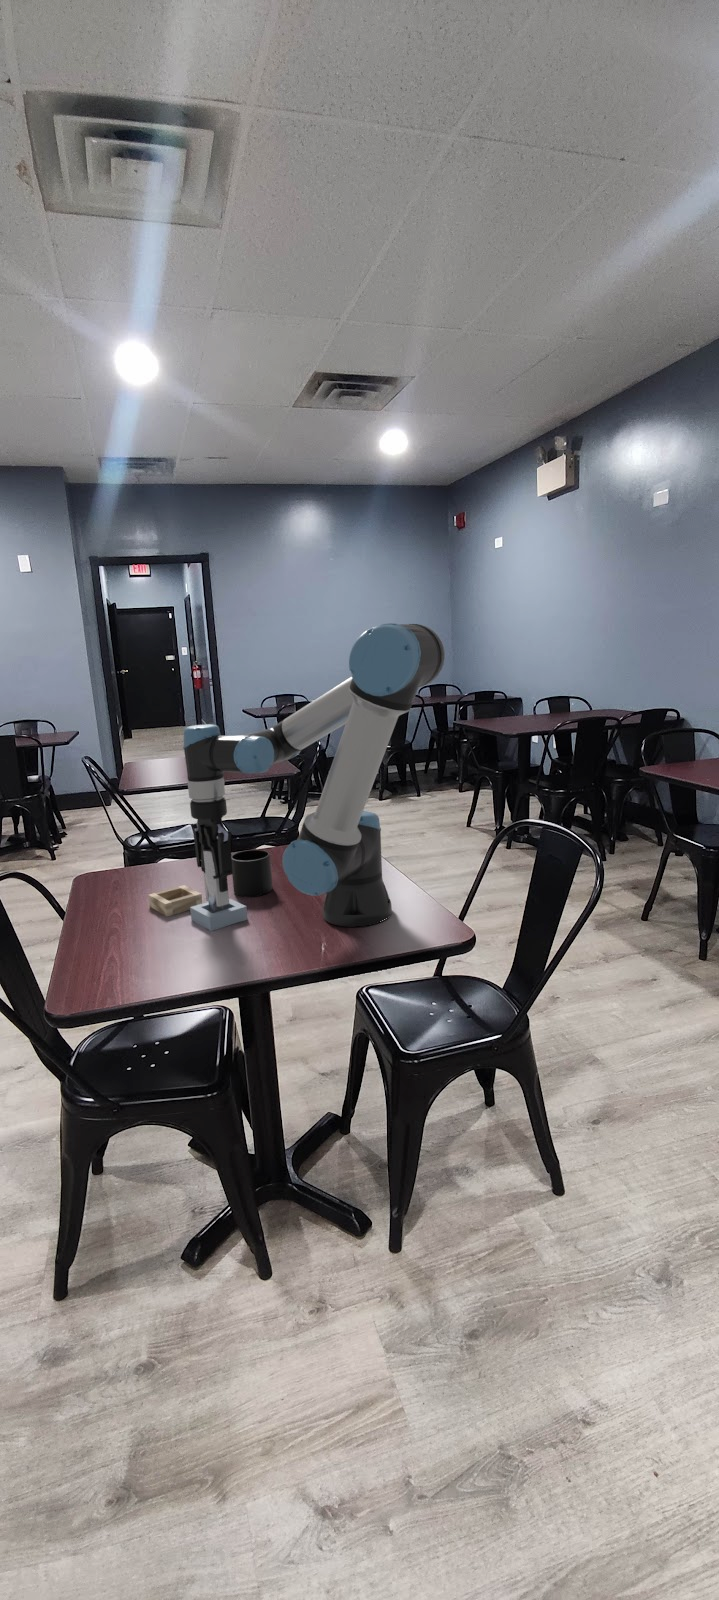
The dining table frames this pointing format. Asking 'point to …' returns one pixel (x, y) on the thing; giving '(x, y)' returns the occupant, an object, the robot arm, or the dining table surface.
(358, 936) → the dining table surface
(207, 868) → the pin
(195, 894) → the block
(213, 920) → the socket block
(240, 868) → the mug
